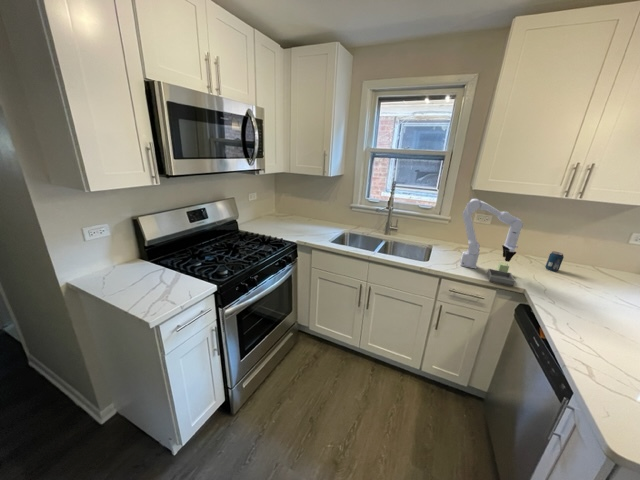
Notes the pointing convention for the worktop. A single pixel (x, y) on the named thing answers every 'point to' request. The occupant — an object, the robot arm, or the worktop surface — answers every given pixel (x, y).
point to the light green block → (503, 267)
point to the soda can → (554, 261)
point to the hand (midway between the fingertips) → (505, 259)
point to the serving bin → (500, 277)
